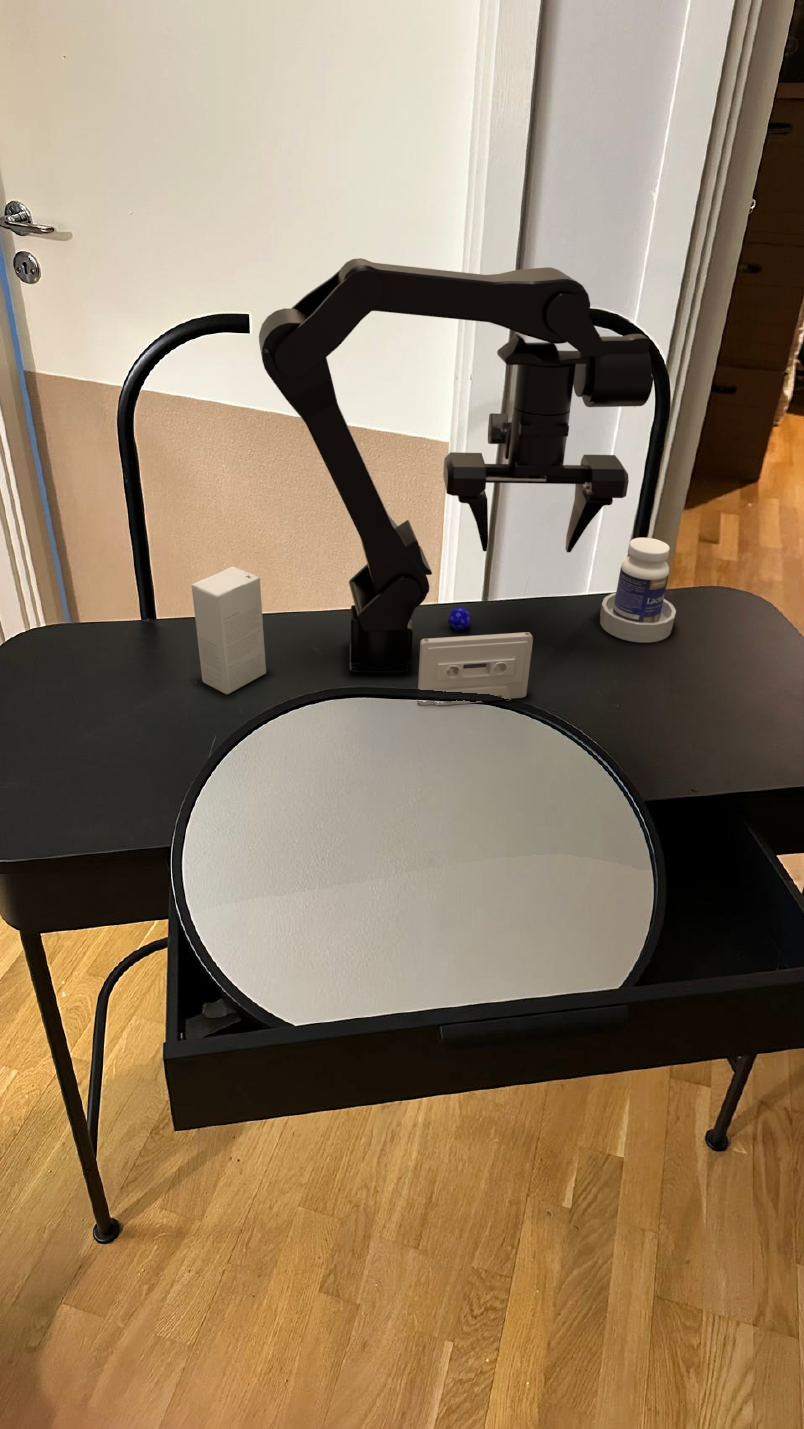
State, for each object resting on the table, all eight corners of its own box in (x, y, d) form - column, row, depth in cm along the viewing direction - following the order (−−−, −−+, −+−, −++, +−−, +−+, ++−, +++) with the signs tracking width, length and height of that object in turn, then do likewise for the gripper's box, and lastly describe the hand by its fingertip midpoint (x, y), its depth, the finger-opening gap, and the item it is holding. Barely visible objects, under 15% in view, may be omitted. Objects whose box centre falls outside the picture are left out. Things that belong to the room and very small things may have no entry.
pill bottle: (650, 635, 118) (665, 559, 112) (605, 622, 120) (617, 547, 114) (665, 616, 122) (680, 542, 116) (621, 604, 124) (634, 531, 118)
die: (466, 636, 118) (452, 619, 116) (453, 634, 120) (439, 617, 119) (479, 620, 119) (466, 602, 117) (466, 618, 121) (453, 601, 119)
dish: (607, 642, 117) (611, 624, 116) (593, 608, 125) (595, 590, 123) (680, 643, 118) (684, 624, 116) (661, 608, 125) (664, 591, 124)
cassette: (523, 690, 108) (530, 629, 104) (527, 700, 106) (535, 638, 102) (416, 698, 106) (418, 636, 102) (419, 708, 104) (422, 645, 100)
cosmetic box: (240, 661, 111) (233, 564, 104) (267, 674, 109) (261, 576, 102) (199, 682, 107) (189, 583, 101) (226, 696, 105) (218, 596, 98)
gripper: (615, 386, 106) (595, 522, 115) (443, 383, 105) (436, 520, 114) (640, 418, 97) (616, 563, 105) (451, 415, 96) (443, 561, 104)
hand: (526, 550), depth 107 cm, fingers open, 9 cm apart
